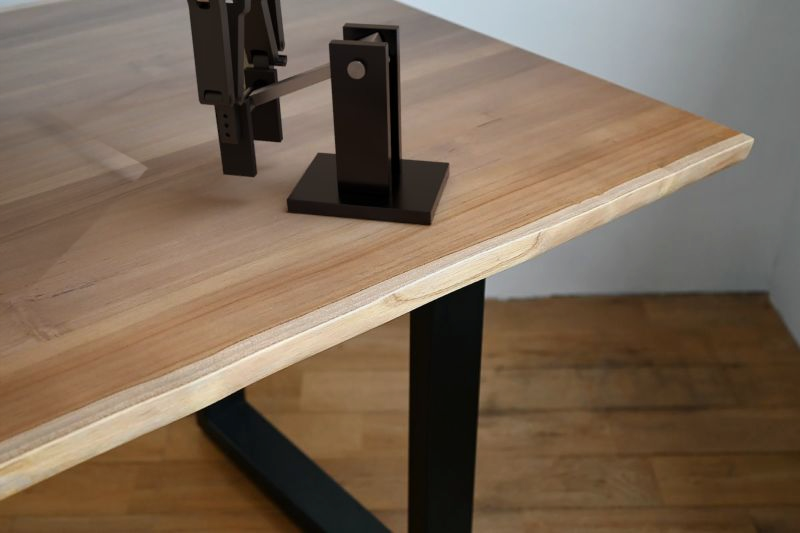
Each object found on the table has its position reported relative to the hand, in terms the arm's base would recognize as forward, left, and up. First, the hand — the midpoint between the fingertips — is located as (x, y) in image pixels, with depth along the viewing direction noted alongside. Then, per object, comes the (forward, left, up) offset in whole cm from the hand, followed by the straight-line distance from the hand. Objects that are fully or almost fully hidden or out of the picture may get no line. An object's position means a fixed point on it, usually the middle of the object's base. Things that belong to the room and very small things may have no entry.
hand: (254, 155), depth 78 cm
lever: (+3, +5, +6) cm, 9 cm away
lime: (-21, +2, -3) cm, 22 cm away
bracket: (+5, +9, -3) cm, 11 cm away
